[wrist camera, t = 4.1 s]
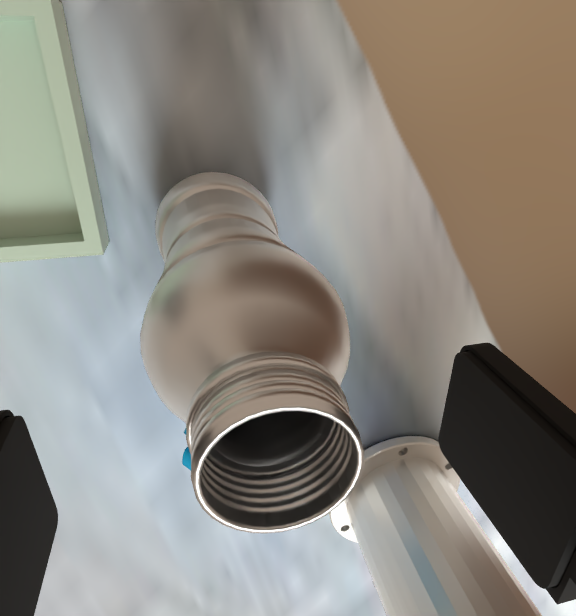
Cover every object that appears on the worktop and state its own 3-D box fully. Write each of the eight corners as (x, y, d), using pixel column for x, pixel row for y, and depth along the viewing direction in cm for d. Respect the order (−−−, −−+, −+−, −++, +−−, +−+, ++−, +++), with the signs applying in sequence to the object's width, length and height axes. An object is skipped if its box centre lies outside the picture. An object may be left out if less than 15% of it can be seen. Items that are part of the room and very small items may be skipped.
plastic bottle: (192, 140, 24) (224, 269, 7) (289, 206, 27) (487, 417, 10) (136, 236, 26) (46, 538, 9) (233, 289, 29) (316, 598, 11)
